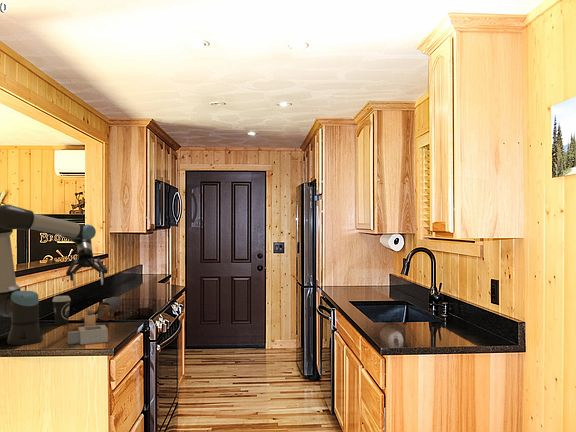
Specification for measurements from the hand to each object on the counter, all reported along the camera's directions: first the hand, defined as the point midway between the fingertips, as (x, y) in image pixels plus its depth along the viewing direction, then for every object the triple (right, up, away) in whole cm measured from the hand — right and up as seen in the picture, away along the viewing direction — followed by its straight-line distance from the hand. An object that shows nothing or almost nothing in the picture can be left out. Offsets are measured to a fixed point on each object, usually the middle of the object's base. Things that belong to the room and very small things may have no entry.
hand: (88, 284), depth 285 cm
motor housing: (+8, -24, -24) cm, 35 cm away
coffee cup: (-22, -25, +20) cm, 39 cm away
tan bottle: (+4, -24, -10) cm, 26 cm away
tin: (-2, -24, +32) cm, 40 cm away
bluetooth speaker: (-4, -24, +47) cm, 53 cm away
